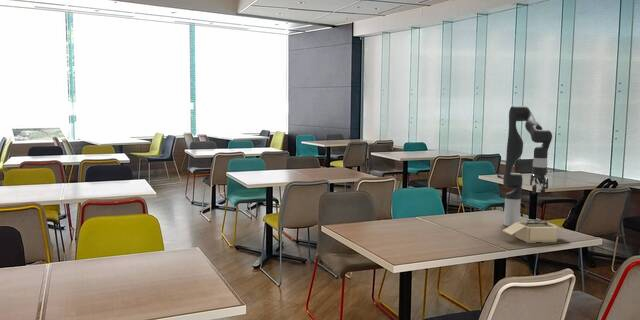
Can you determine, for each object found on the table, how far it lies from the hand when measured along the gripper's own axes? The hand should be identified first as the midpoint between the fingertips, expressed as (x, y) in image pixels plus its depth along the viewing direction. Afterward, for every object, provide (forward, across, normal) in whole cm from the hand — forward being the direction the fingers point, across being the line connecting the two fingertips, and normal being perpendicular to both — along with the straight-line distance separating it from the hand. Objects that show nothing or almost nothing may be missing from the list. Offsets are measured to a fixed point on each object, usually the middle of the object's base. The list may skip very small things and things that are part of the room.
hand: (538, 194), depth 291 cm
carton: (+25, 0, 0) cm, 25 cm away
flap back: (+16, 0, +9) cm, 19 cm away
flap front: (+16, 0, -9) cm, 19 cm away
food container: (+25, -2, 0) cm, 25 cm away
